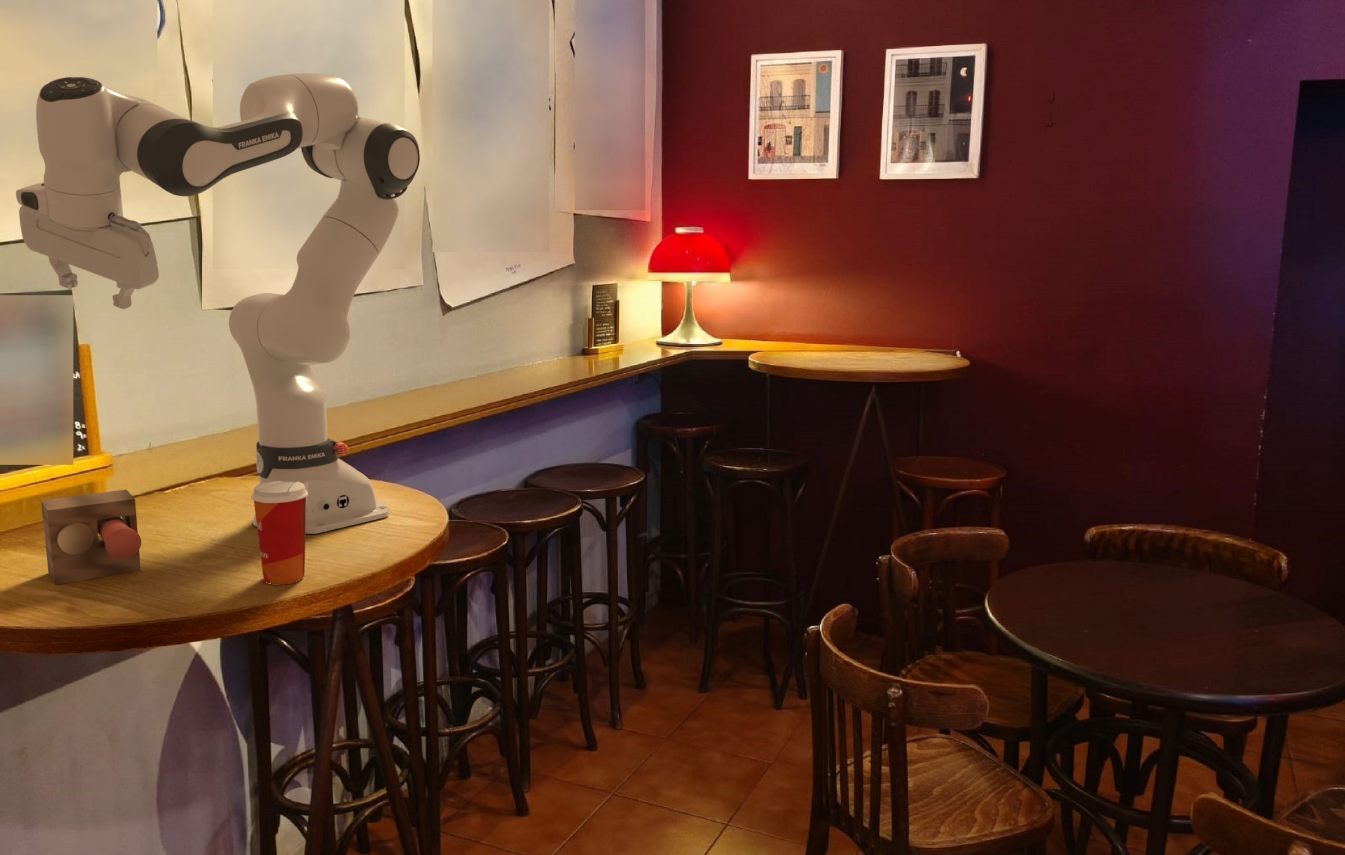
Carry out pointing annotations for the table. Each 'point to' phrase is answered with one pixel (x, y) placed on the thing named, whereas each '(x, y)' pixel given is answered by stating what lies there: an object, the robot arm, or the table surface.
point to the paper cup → (281, 530)
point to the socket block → (85, 535)
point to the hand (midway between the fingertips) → (95, 296)
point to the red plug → (118, 538)
